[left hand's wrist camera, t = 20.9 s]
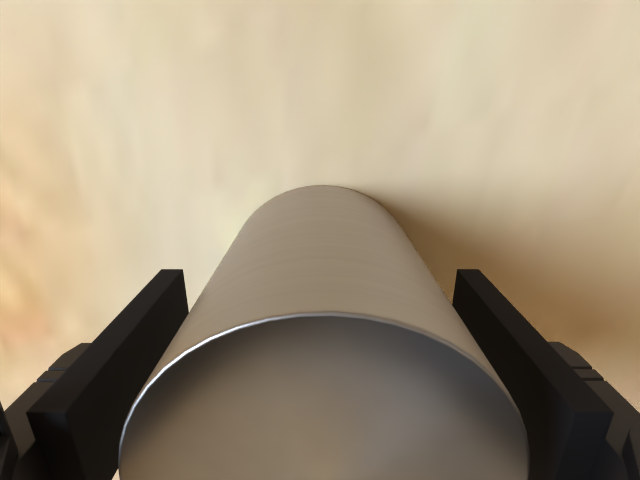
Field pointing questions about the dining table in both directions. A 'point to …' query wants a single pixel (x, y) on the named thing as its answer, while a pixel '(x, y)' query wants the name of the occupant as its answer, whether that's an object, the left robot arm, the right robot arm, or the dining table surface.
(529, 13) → the dining table surface
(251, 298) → the tin
